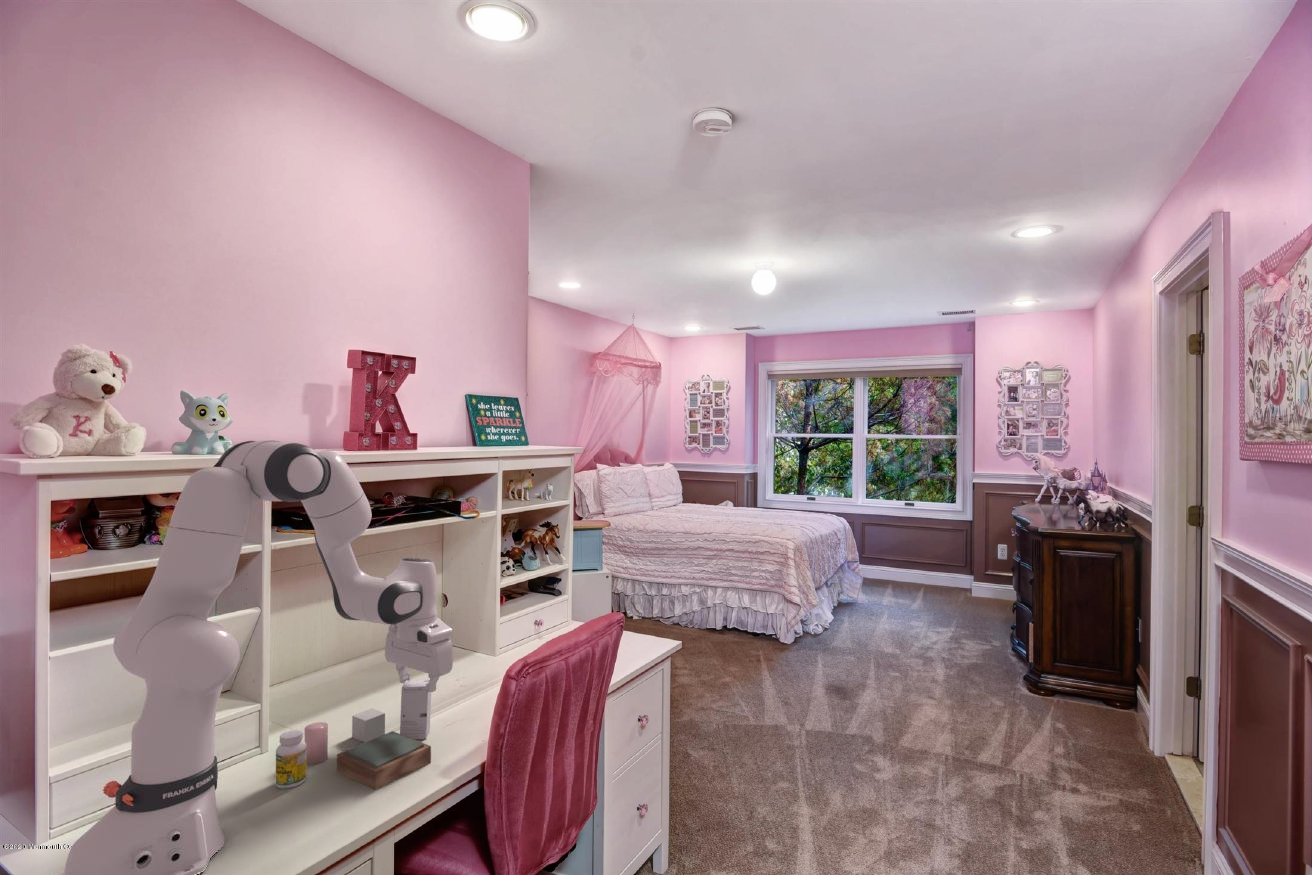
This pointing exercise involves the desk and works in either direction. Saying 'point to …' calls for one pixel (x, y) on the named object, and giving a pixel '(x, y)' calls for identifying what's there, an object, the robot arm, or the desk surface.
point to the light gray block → (368, 725)
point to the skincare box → (415, 709)
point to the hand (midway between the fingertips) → (417, 686)
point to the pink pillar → (316, 742)
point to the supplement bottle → (291, 760)
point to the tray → (383, 759)
